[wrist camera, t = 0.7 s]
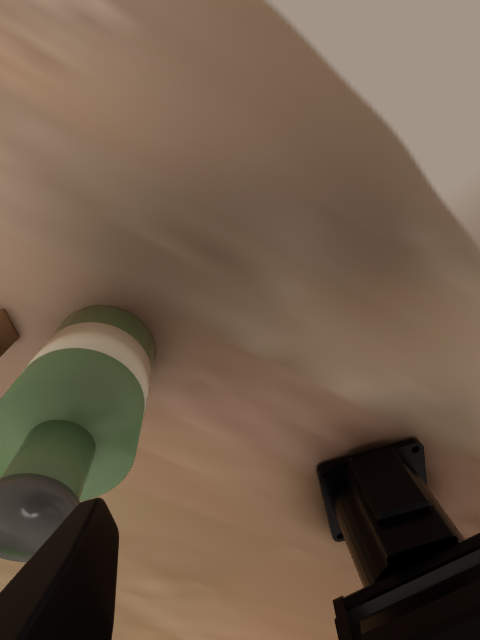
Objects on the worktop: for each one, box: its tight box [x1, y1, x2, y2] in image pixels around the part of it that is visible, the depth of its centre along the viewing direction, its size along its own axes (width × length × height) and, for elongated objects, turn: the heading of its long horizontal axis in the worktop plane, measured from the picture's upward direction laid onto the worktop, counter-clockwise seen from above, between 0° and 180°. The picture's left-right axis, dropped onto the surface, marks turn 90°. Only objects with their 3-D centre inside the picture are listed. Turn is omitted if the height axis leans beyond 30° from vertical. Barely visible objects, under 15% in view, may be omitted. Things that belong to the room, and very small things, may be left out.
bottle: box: [0, 306, 155, 562], centre depth 15 cm, size 5×5×10 cm
